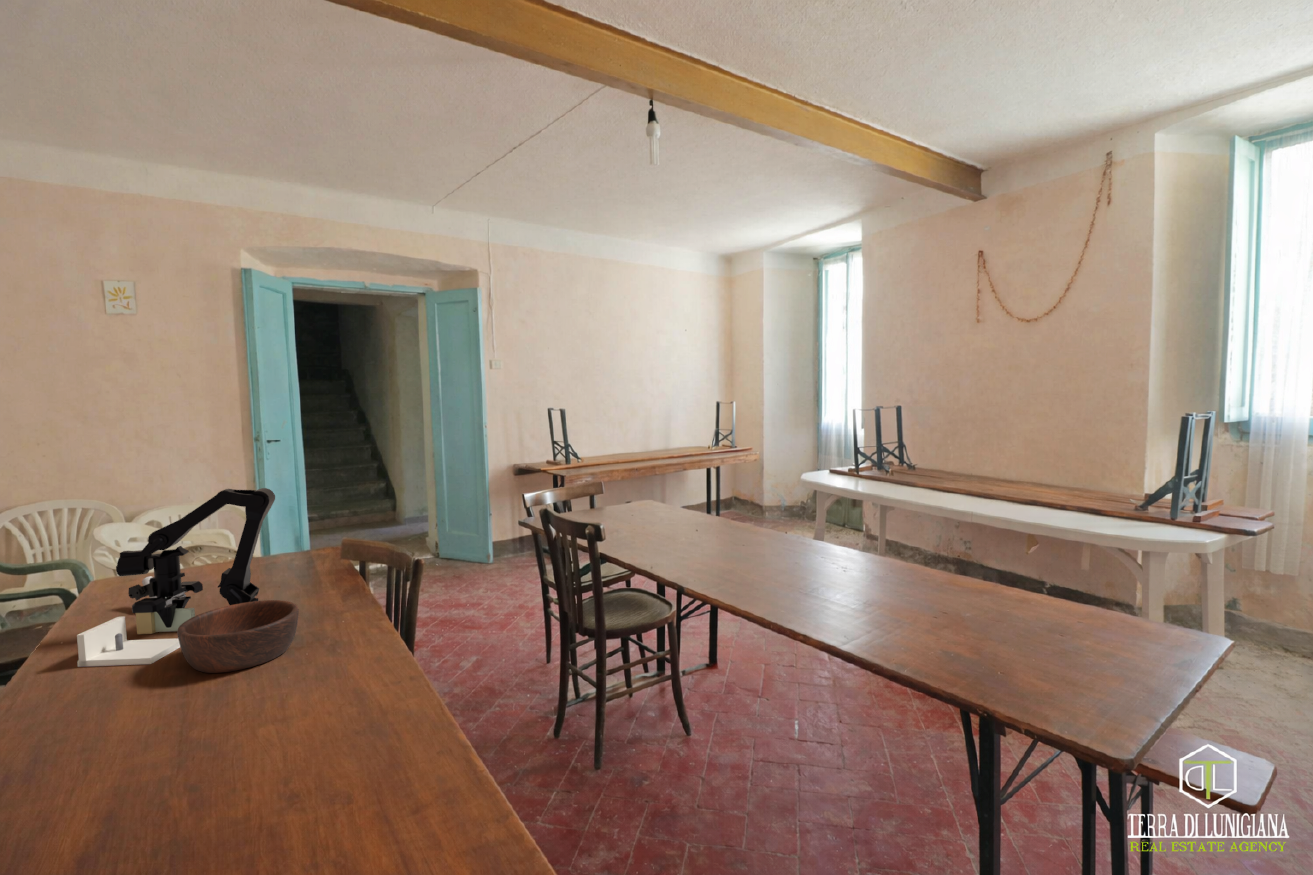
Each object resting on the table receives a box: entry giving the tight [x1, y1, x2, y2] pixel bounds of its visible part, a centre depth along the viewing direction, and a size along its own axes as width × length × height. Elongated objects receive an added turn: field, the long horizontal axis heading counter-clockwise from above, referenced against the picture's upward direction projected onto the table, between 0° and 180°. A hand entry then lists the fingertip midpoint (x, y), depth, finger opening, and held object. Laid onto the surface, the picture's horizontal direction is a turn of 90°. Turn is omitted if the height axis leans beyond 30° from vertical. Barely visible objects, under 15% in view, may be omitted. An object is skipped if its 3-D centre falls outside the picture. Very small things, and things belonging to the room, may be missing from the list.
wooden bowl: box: [176, 599, 300, 674], centre depth 149 cm, size 25×25×10 cm
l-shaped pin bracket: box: [76, 615, 181, 668], centre depth 150 cm, size 17×12×8 cm
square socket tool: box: [135, 607, 196, 635], centre depth 166 cm, size 14×4×6 cm, turn 94°
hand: (171, 625), depth 166 cm, fingers closed on square socket tool, 2 cm apart
